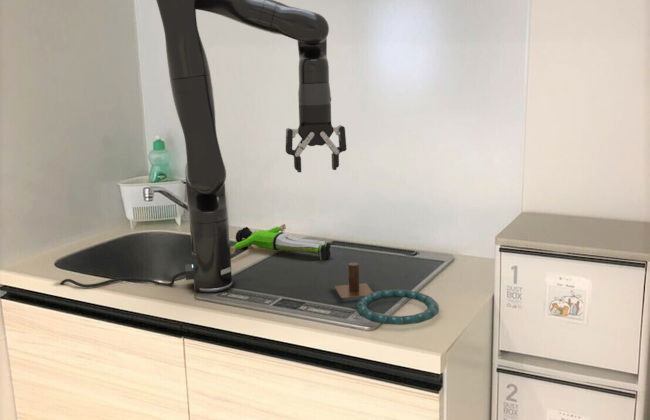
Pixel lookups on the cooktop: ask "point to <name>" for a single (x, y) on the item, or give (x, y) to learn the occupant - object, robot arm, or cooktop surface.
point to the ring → (399, 320)
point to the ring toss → (353, 284)
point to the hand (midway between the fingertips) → (316, 170)
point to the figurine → (280, 242)
